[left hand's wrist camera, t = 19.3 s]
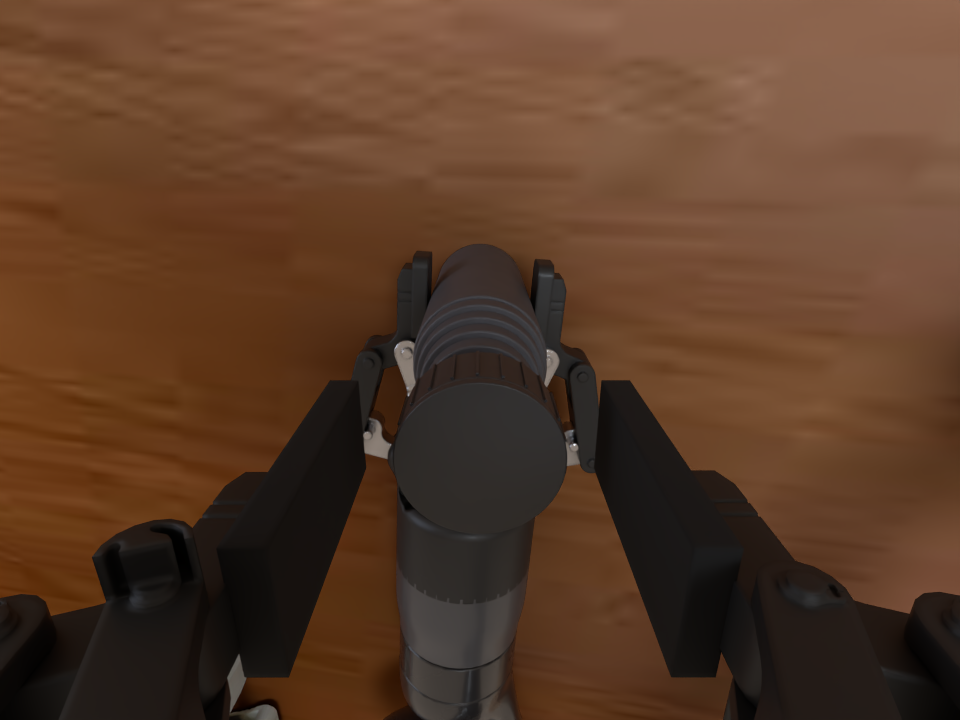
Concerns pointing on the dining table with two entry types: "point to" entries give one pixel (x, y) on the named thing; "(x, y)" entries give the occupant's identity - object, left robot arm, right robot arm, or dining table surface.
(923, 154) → the dining table surface
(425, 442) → the cap
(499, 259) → the bottle
